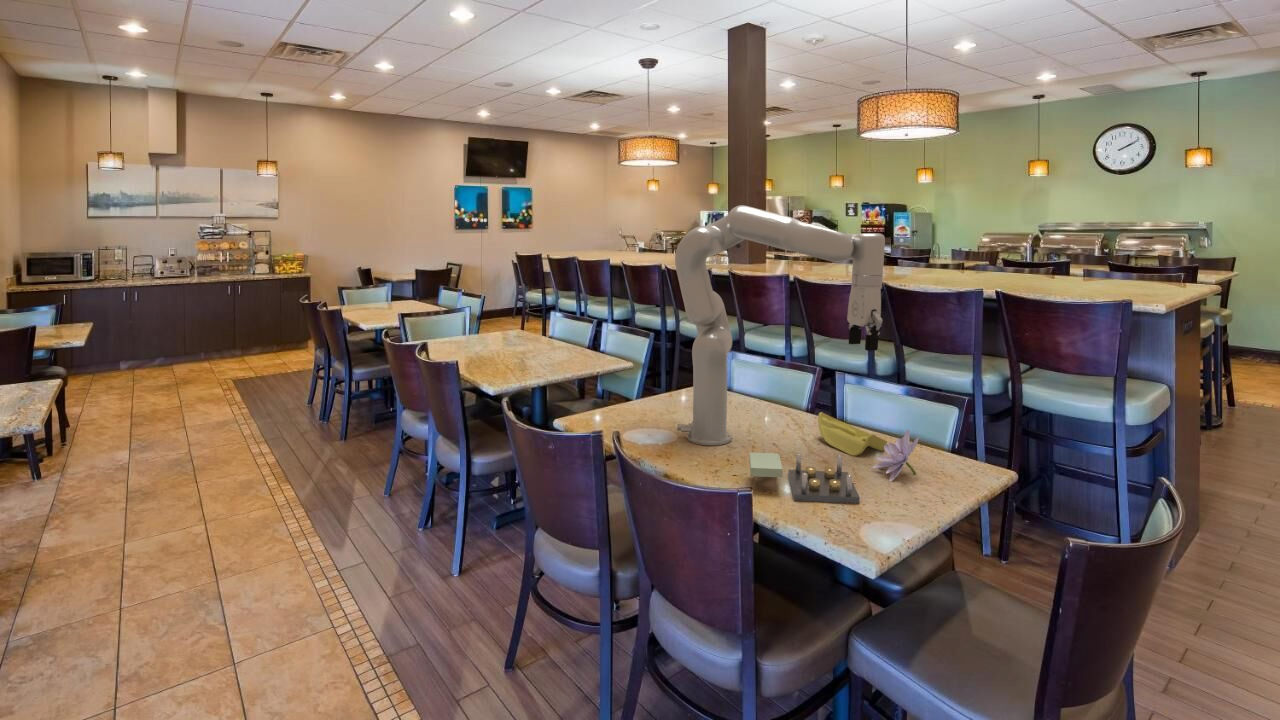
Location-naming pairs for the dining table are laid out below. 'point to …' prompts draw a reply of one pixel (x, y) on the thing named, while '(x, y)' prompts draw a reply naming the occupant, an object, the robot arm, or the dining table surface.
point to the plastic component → (847, 436)
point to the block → (765, 483)
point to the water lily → (897, 455)
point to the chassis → (822, 484)
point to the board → (765, 465)
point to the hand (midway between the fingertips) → (862, 347)
